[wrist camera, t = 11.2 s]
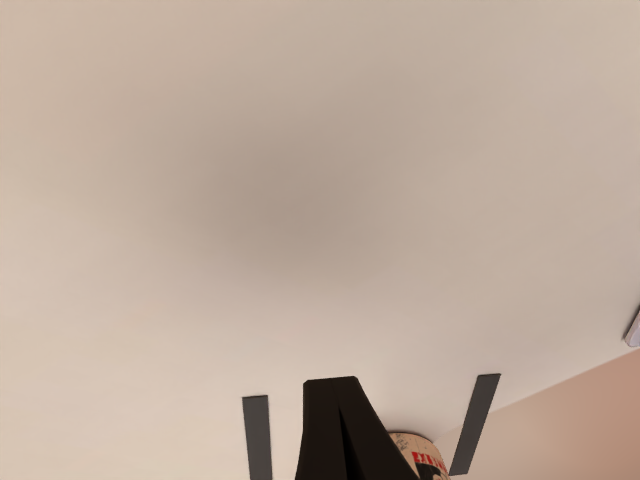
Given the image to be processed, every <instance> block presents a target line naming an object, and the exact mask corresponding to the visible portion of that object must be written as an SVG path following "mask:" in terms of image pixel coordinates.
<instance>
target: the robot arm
mask: <svg viewBox="0 0 640 480" xmlns="http://www.w3.org/2000/svg"><path fill="white" fill-rule="evenodd" d="M625 343H626V344H627V345H628V346H630V347H640V311H639V313H638V315H637V317H636V319H635V321H634V323H633V325H632V326H631V328H630V330H629V332H628V334H627V336H626V338H625ZM295 480H420V478H419V477H418V476H417V474H416V473H415V472H414V470H413V469H412V468H411V466H410V465H409V463H408V462H407V460H406V459H405V458H404V456H403V455H402V453H401V452H400V450H399V449H398V447H397V446H396V444H395V443H394V441H393V440H392V438H391V437H390V435H389V434H388V432H387V430H386V429H385V427H384V426H383V424H382V422H381V421H380V419H379V417H378V416H377V414H376V412H375V411H374V409H373V407H372V405H371V404H370V402H369V400H368V398H367V396H366V395H365V393H364V391H363V389H362V387H361V385H360V383H359V381H358V379H357V378H356V377H355V376H348V377H337V378H325V379H314V380H307V381H306V382H305V383H303V434H302V441H301V447H300V454H299V461H298V466H297V471H296V476H295Z"/></svg>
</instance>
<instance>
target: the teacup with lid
mask: <svg viewBox="0 0 640 480" xmlns="http://www.w3.org/2000/svg"><path fill="white" fill-rule="evenodd" d="M389 435H390V437H391V438H392V440H393V441H394V443H395V444H396V446H397V447H398V449H399V450H400V452H401V453H402V455H403V456H404V458H405V459H406V460H407V462H408V463H409V465H410V466H411V468H412V469H413V470H414V472H415V473H416V474H417V476H418V477H419V478H420V480H450V477H449V475H448V472H447V470H446V467H445V465H444V462H443V460H442V458H441V455H440V453H439V451H438V449H437V448H436V447H435V446H434V445H433V444H432V443H431V442H430V441H428V440H426V439H424V438H422V437H420V436H417V435H412V434H405V433H390V434H389Z"/></svg>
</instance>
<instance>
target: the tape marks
mask: <svg viewBox="0 0 640 480" xmlns="http://www.w3.org/2000/svg"><path fill="white" fill-rule="evenodd" d="M500 376H501V374H493V375H482V376H478V379H477V382H476V385H475V389H474V392H473V395H472V399H471V402H470V405H469V409H468V412H467V415H466V419H465V422H464V425H463V428H462V432H461V435H460V439H459V442H458V445H457V449H456V452H455V455H454V458H453V462H452V465H451V468H450V472H449V476H454V475H462V474H467V473H468V470H469V467H470V464H471V461H472V458H473V455H474V452H475V449H476V446H477V444H478V441H479V438H480V435H481V432H482V429H483V426H484V423H485V420H486V417H487V414H488V411H489V408H490V405H491V402H492V399H493V396H494V394H495V391H496V388H497V385H498V382H499V379H500ZM242 401H243V411H244V420H245V430H246V440H247V450H248V460H249V470H250V480H272V466H271V449H270V431H269V413H268V396H258V397H248V398H242Z"/></svg>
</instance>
